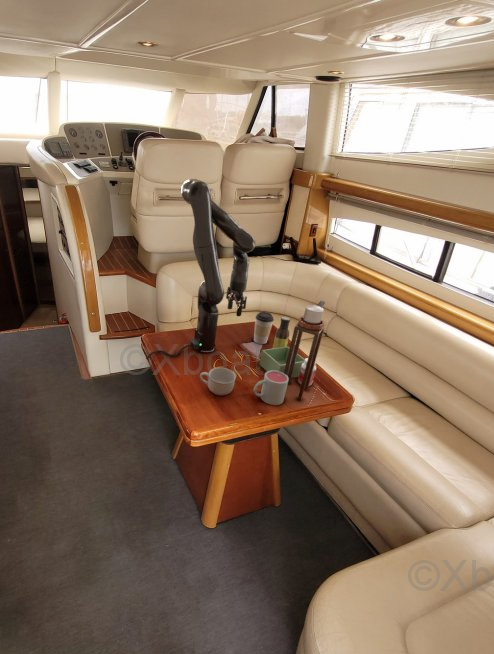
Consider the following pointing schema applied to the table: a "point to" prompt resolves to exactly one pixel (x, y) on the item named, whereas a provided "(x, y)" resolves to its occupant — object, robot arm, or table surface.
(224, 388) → the teacup
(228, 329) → the table surface
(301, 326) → the stand
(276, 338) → the sauce bottle
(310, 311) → the small saucepan
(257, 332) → the coffee cup
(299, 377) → the pill bottle
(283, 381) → the mug
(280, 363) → the bin
